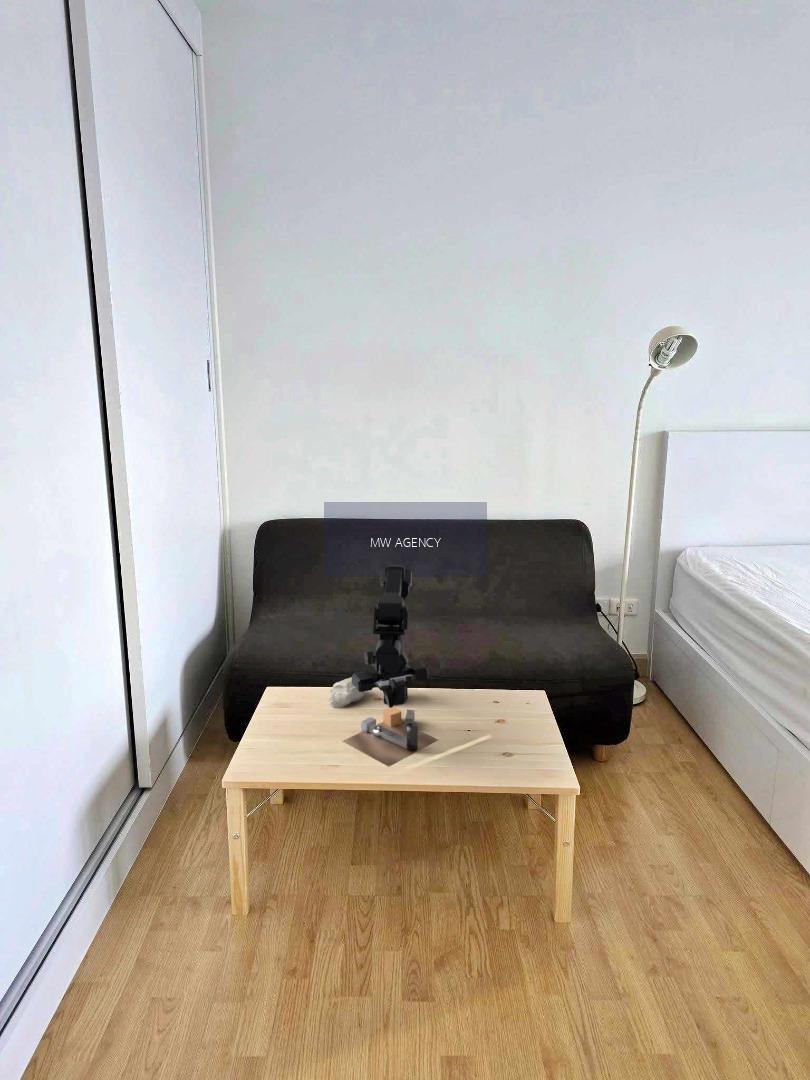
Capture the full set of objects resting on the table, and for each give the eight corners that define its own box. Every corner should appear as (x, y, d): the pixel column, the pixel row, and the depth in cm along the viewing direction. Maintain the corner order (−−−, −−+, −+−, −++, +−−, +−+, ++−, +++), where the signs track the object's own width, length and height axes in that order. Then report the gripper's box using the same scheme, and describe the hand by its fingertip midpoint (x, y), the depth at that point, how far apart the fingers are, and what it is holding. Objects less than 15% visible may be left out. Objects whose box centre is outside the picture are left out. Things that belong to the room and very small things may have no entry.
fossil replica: (321, 710, 206) (354, 718, 203) (321, 684, 203) (355, 692, 200) (338, 689, 217) (370, 697, 214) (339, 664, 214) (371, 672, 211)
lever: (370, 725, 195) (370, 703, 193) (420, 747, 184) (421, 725, 182) (361, 730, 192) (360, 708, 191) (411, 753, 181) (411, 730, 180)
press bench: (398, 717, 202) (398, 702, 200) (444, 739, 190) (445, 723, 189) (342, 744, 187) (342, 728, 186) (388, 770, 176) (388, 753, 175)
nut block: (393, 718, 199) (393, 706, 198) (401, 723, 196) (401, 711, 195) (383, 722, 197) (383, 710, 196) (390, 727, 194) (390, 715, 193)
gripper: (411, 632, 191) (411, 686, 195) (343, 643, 184) (345, 699, 188) (429, 648, 181) (429, 705, 185) (358, 661, 174) (359, 719, 178)
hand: (390, 706), depth 184 cm, fingers closed
